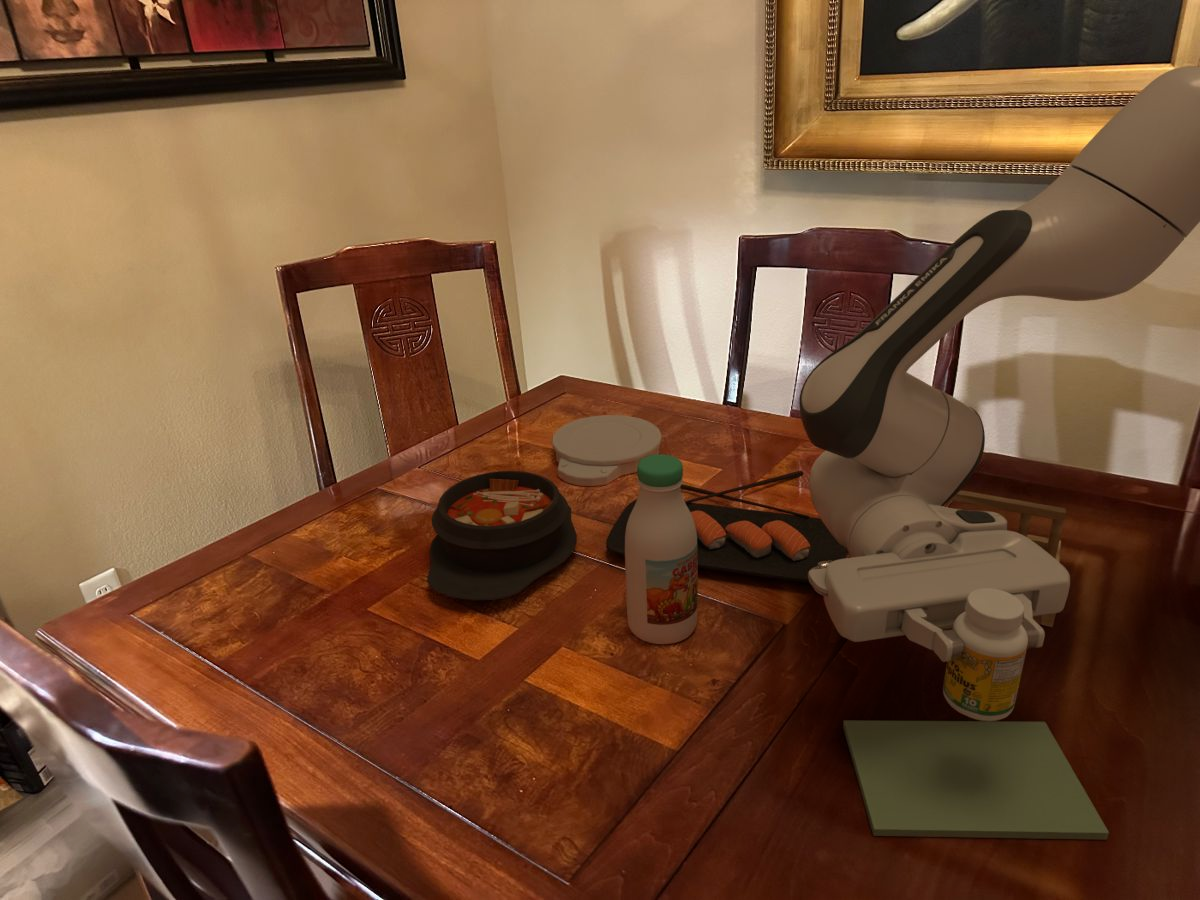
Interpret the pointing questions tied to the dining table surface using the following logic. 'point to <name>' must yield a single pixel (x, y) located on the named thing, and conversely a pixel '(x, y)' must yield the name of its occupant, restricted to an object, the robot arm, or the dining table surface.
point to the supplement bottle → (987, 656)
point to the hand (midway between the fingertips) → (996, 647)
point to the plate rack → (1025, 525)
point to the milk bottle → (661, 555)
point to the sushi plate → (750, 537)
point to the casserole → (498, 535)
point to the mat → (969, 781)
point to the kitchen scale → (603, 448)
